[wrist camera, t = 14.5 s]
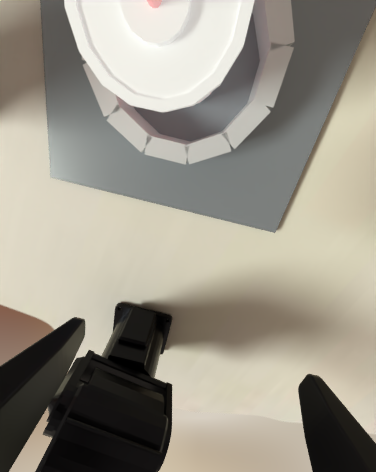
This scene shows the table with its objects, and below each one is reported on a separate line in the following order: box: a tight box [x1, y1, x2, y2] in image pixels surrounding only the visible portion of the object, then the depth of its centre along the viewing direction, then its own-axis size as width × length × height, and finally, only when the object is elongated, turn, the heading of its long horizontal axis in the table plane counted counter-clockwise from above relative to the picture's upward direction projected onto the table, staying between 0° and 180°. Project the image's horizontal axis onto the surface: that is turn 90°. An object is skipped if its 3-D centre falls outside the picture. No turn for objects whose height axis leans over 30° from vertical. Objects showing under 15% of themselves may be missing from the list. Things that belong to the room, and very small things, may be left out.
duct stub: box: [40, 0, 376, 233], centre depth 14 cm, size 20×20×4 cm
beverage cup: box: [64, 0, 255, 112], centre depth 9 cm, size 6×6×14 cm
